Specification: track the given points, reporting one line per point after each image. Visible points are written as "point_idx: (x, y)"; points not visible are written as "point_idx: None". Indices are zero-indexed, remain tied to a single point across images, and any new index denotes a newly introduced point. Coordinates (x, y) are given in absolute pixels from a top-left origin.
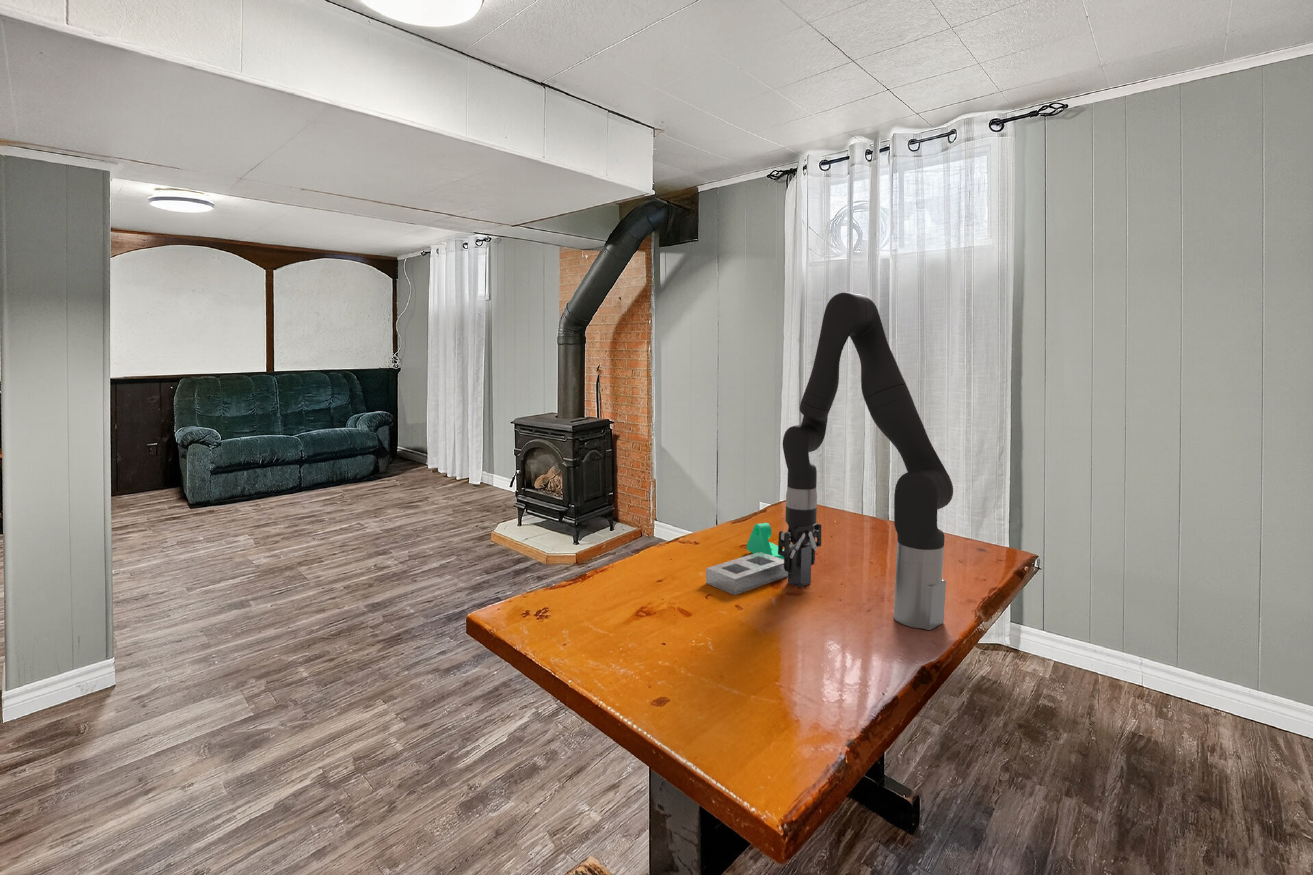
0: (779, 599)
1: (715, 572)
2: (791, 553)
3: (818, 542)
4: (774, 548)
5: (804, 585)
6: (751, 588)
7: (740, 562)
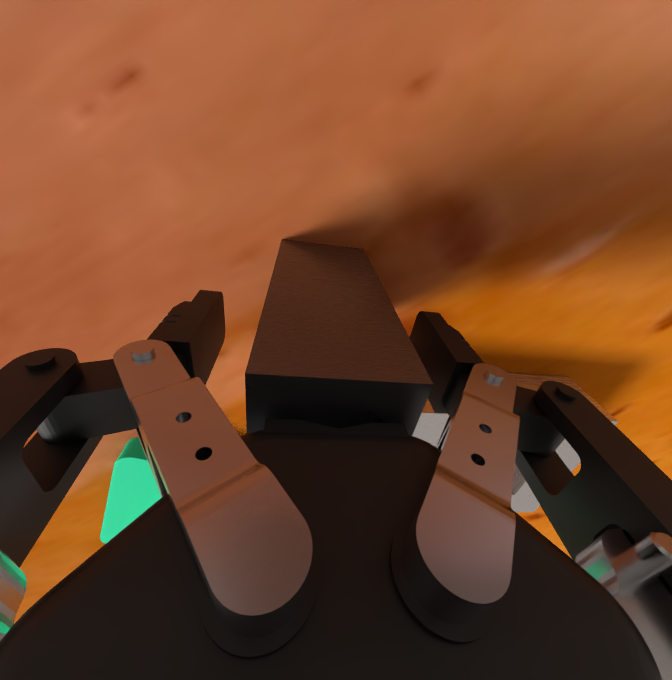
0: (554, 242)
1: None
2: (513, 390)
3: (54, 384)
4: (138, 509)
5: (332, 246)
6: None
7: None
